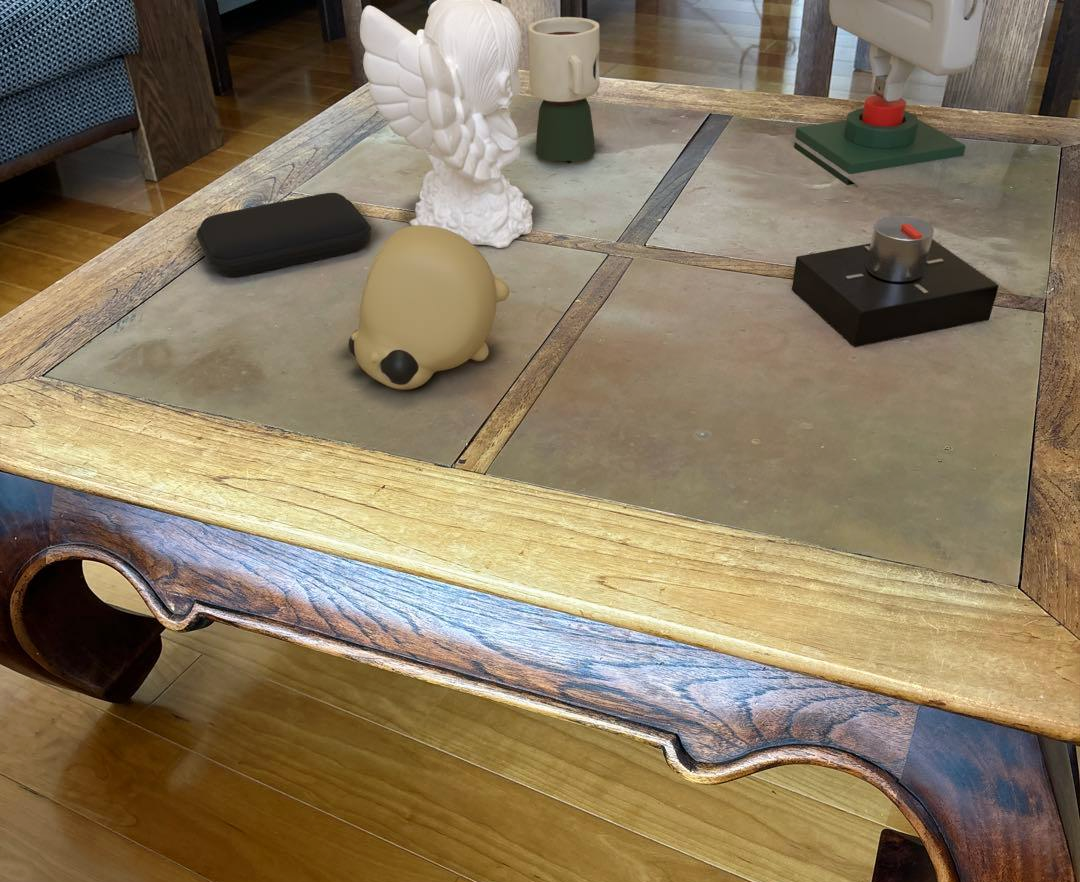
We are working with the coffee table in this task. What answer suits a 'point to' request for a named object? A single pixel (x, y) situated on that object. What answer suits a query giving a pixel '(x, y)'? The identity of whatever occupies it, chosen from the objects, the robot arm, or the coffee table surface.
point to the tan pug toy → (425, 307)
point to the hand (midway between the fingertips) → (885, 96)
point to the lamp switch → (875, 144)
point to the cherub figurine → (454, 111)
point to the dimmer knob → (899, 248)
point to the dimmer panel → (892, 294)
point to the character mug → (564, 85)
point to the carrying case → (282, 234)
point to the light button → (883, 111)
